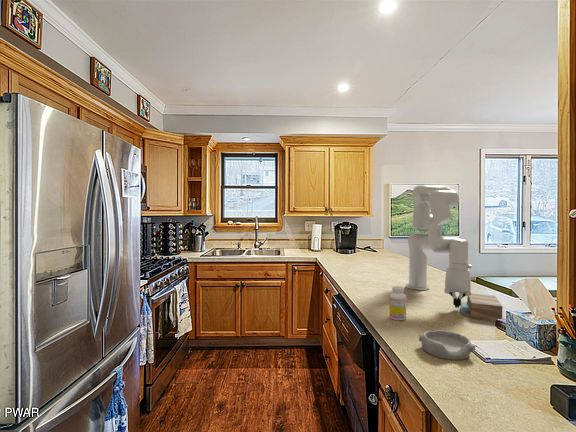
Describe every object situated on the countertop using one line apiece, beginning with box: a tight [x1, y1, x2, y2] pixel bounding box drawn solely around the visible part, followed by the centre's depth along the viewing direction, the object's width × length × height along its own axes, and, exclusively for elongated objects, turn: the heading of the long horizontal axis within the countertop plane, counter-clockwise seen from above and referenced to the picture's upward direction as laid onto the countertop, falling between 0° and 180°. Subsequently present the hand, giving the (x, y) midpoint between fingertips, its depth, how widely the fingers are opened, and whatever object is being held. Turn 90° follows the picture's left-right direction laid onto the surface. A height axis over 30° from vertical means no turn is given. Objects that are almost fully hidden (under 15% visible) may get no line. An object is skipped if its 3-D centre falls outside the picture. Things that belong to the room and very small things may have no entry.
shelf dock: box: [464, 292, 503, 322], centre depth 142 cm, size 18×13×6 cm
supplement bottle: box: [389, 285, 407, 321], centre depth 135 cm, size 7×7×13 cm
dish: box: [418, 329, 476, 361], centre depth 104 cm, size 14×14×5 cm
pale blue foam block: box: [460, 301, 471, 315], centre depth 143 cm, size 9×12×3 cm
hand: (457, 307), depth 146 cm, fingers closed
